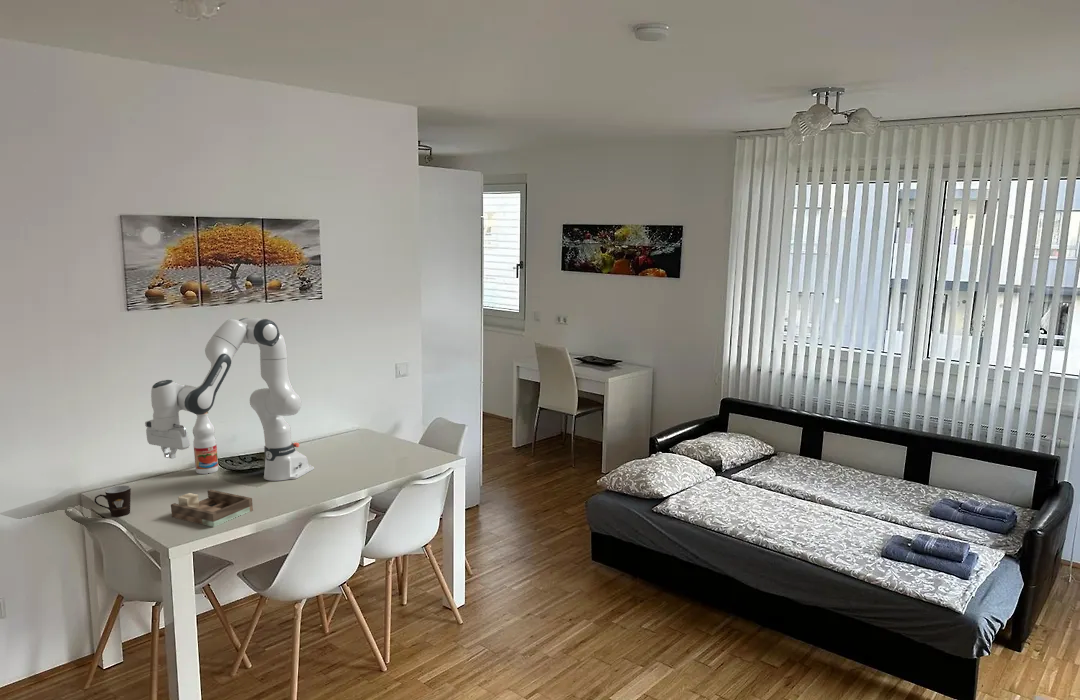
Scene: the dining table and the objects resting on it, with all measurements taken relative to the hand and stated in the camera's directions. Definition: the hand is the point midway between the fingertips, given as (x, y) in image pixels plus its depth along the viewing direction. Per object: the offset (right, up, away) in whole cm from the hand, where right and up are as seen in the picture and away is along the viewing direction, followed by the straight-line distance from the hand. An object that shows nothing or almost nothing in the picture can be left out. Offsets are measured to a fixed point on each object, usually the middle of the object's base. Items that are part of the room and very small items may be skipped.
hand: (170, 457), depth 284 cm
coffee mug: (-21, -22, 0) cm, 30 cm away
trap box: (+17, -21, -1) cm, 27 cm away
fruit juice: (-8, -14, +50) cm, 53 cm away
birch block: (+8, -19, -1) cm, 21 cm away
